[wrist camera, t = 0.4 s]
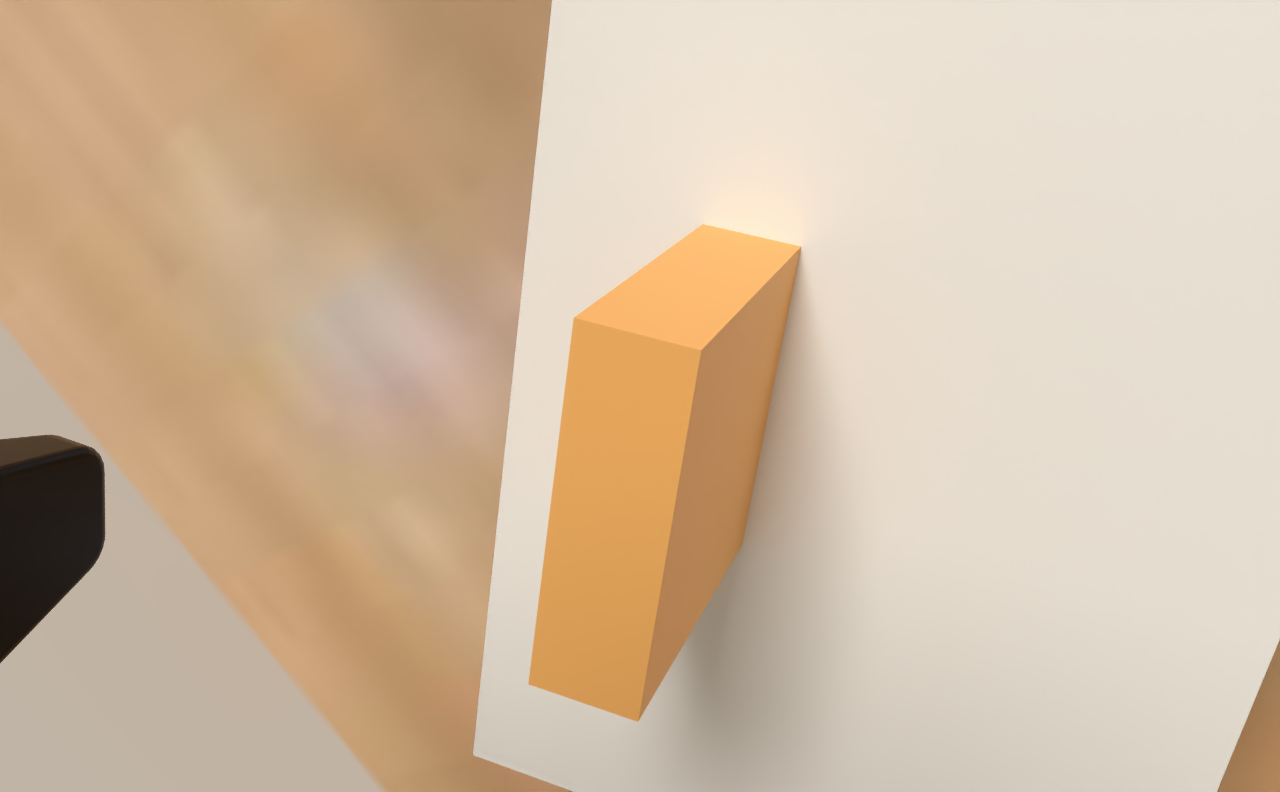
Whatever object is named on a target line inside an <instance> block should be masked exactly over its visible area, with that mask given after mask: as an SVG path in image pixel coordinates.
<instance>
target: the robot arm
mask: <svg viewBox="0 0 1280 792" xmlns="http://www.w3.org/2000/svg"><path fill="white" fill-rule="evenodd" d="M104 477H105V473H104V463H103V461H102V458H101V456H100V454H99V453H98V452H97V451H96V450H95V449H93V448H92V447H89V446H86V445H83V444H80V443H77V442H75V441H72V440H69V439H66V438H63V437H60V436H55V435H41V436H30V437H20V438H10V439H0V663H1V662H2V661H3V660H4V659H5V658H6V657H7V655H8V654H9V653H10V652H11V651H12V650H13V649H14V648H15V647H16V646H17V645H18V644H19V643H20V642H21V641H22V640H23V639H24V638H25V637H26V636H27V635H28V634H29V633H30V631H32V630H33V629H34V627H35V626H36V625H37V624H38V623H39V622H40V621H41V620H42V619H43V618H44V617H45V616H46V615H47V614H48V613H49V612H50V611H51V610H52V609H53V608H54V607H55V606H56V605H57V604H58V602H59V601H60V600H61V599H62V598H63V597H64V596H65V595H66V594H67V593H68V592H69V591H70V590H71V589H72V588H73V587H74V586H75V585H76V584H77V583H78V582H79V581H80V580H81V579H82V577H84V575H85V574H86V573H87V572H88V571H89V570H90V569H91V568H92V567H93V566H94V564H95V563H96V561H97V559H98V558H99V556H100V553H101V551H102V548H103V545H104V541H105V483H104V482H105V478H104Z"/></svg>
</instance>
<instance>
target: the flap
mask: <svg viewBox="0 0 1280 792" xmlns="http://www.w3.org/2000/svg"><path fill="white" fill-rule="evenodd" d="M1279 640H1280V0H552V7H551V17H550V26H549V36H548V45H547V55H546V65H545V74H544V84H543V93H542V103H541V112H540V122H539V131H538V141H537V150H536V160H535V169H534V179H533V188H532V198H531V207H530V217H529V226H528V236H527V245H526V255H525V265H524V274H523V284H522V293H521V303H520V312H519V322H518V331H517V341H516V350H515V360H514V369H513V379H512V388H511V398H510V407H509V417H508V426H507V436H506V445H505V455H504V465H503V474H502V484H501V493H500V503H499V512H498V522H497V531H496V541H495V550H494V560H493V569H492V579H491V588H490V598H489V607H488V617H487V626H486V636H485V645H484V655H483V665H482V674H481V684H480V693H479V703H478V712H477V722H476V731H475V741H474V750H473V755H474V756H477V757H480V758H482V759H485V760H488V761H491V762H493V763H496V764H499V765H502V766H504V767H507V768H510V769H513V770H515V771H518V772H521V773H524V774H526V775H529V776H532V777H535V778H537V779H540V780H543V781H546V782H548V783H551V784H554V785H557V786H559V787H562V788H565V789H568V790H570V791H573V792H1217V790H1218V787H1219V785H1220V783H1221V780H1222V778H1223V775H1224V773H1225V770H1226V768H1227V766H1228V763H1229V761H1230V758H1231V756H1232V753H1233V751H1234V749H1235V746H1236V744H1237V741H1238V739H1239V737H1240V734H1241V732H1242V729H1243V727H1244V724H1245V722H1246V720H1247V717H1248V715H1249V712H1250V710H1251V707H1252V705H1253V703H1254V700H1255V698H1256V695H1257V693H1258V691H1259V688H1260V686H1261V683H1262V681H1263V678H1264V676H1265V674H1266V671H1267V669H1268V666H1269V664H1270V661H1271V659H1272V657H1273V654H1274V652H1275V649H1276V647H1277V645H1278V642H1279Z"/></svg>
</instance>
